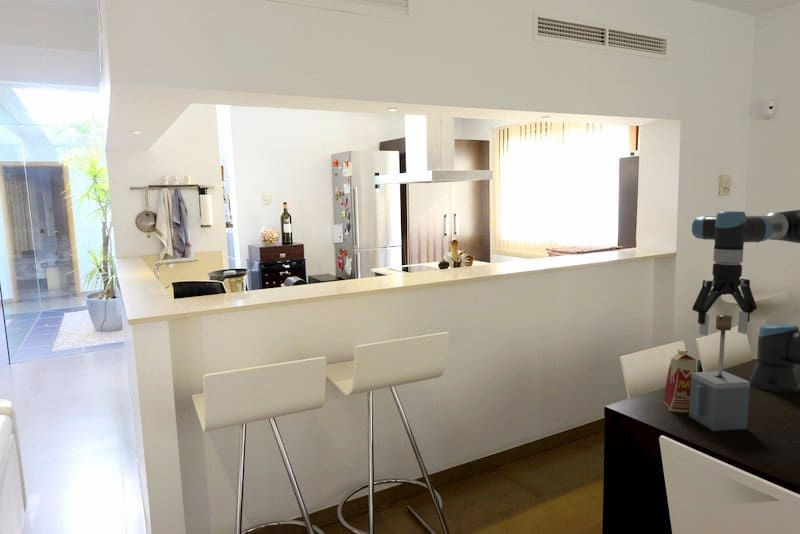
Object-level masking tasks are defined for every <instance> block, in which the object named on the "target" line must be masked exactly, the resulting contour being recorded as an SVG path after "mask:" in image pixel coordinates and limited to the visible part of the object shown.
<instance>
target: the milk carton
mask: <svg viewBox="0 0 800 534" xmlns="http://www.w3.org/2000/svg"><path fill="white" fill-rule="evenodd" d="M687 353H688V350H680V349H677V353H676V354H674V356H673V357H671V359H670V363H669V366H668V372H667V376H666V377H667V378H666V381H665V386H664V387H665V388H664V393H663V394H664V395H663V404H664V405H665V406H666V407H667V409H668V411H669V412H673V413H675V412H676V413H685V412H689V408H690V391H691V374H692V372H697V359H696V358H694V357H692V356H690V355H689V354H687Z"/></svg>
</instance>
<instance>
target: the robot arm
mask: <svg viewBox="0 0 800 534" xmlns="http://www.w3.org/2000/svg"><path fill="white" fill-rule="evenodd" d="M691 233H692V235H693V237H694V238H696V239H701V240H708V241H710V240H711V241H714V246H713V247H714V248H713V260H712V261H713V262H714V263H713V264H712V274H711V275H712V276H713V279H712V280H709V279H704V280H702V286H701V288H700V291H699V292H698V295H697V296H696V299H695V302H694V304H693V306H692V308H691V310H692V311H694V312H696V313H697V315H698V317H697V322H698V324H699V329H698V330H699V331H698V332H699V333H698V334H700V335H703V336H705V337H707V336H708V334H709V323H710V322H709V319H710V313H708V311H710V309H711V308H712V306H713V305H714V304H715V302H717V300H718V298H719V297H721V296H722V295H723V296H725V295H731V296H732V298H733V299H734V300H735V302H736V303H737V305H738V306H739V308H740V309H741V310H739V311H738V322H737V323H738V324H737V333H740V334H743V335H747V334H748V323H749V322H750V318H751V317H750V315H751V314H752V313H753V312H754V311H756V310H757V308H758V307H757V304H756V300H755V298H754V296H753V292H752V289H751V280H750V279H746V278H741V277H742V276H743V275H742V274H743V265H742V263H743V262H744V261H743V259H744V245H745V243H760V242H761V243H762V242H765V241H767V240H770V241H781V242H782V241H783V242H787V243H788V242H789V243H796V244H800V209H796V210H795V209H793V210H787V211H780V212H779V211H778V212H769V213H767V214H766V215H746V212H745V211H741V210H740V211H737V210H736V211H734V210H733V211H732V210H731V211H730V210H729V211H728V210H727V211H726V210H725V211H718V212H717V213H716V215H715V216H711V215H705V216H703V215H702V216H701V215H700V216H697V217H696V218H695V219H694V220H693V222H692V224H691ZM739 286H740V288H739ZM757 338H758V340H757V341H758V343H757V355H756V364H755V366H754V369H753V372H752V374H751V375H750V377H749V382H750V386H753V387H755V388H756V389H759V390H764V391H769V392H773V393H780V394H794V392H795V393H797V392H800V381H799V378H798V375H797V371H796V365H799V366H800V327H799V325H797V324H796V325H795V324H789V323H769V324H763V325H762V326H760V328H759V332H758V336H757Z"/></svg>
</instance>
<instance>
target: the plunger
mask: <svg viewBox="0 0 800 534" xmlns="http://www.w3.org/2000/svg"><path fill="white" fill-rule="evenodd" d="M732 317H733V316H732V315H728V314H716V319H715V330H719V331H720V336H719V337H720V338H719V352H718V367H717V368H718V370H717V371H718V378H722V375H723V371H724V357H725V356H724V355H725V341H726V331H731V330H732Z"/></svg>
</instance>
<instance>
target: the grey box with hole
mask: <svg viewBox="0 0 800 534" xmlns="http://www.w3.org/2000/svg"><path fill="white" fill-rule="evenodd" d="M750 390H751V384H750V380H747V379H744V378H742V377H739V376H737V375H735V374H732V373H730V372H727V371H726V370H723V375H722V378H718V370H715V371H714V370H712V371H711V370H710V371H696V372H692V374H691V391H690V408H689V413H688V418H690V417H691V419H692V418H693V419H692V420H694V419H695V420H696V421H695V420H694V421H695V422H697V421H698V422H697V423H699V422H700V423H701V425H702V424H703V425H702V426H704V427H705V428H707V427H708V428H707V429H709V428H710V429H709V430H711V431H712V432H718V431H720V430H721V431H732V430H746V429H747V428H748V419H749V418H748V417H749V404H750V403H749V401H750ZM700 423H699V424H700ZM721 431H720V432H721Z"/></svg>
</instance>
